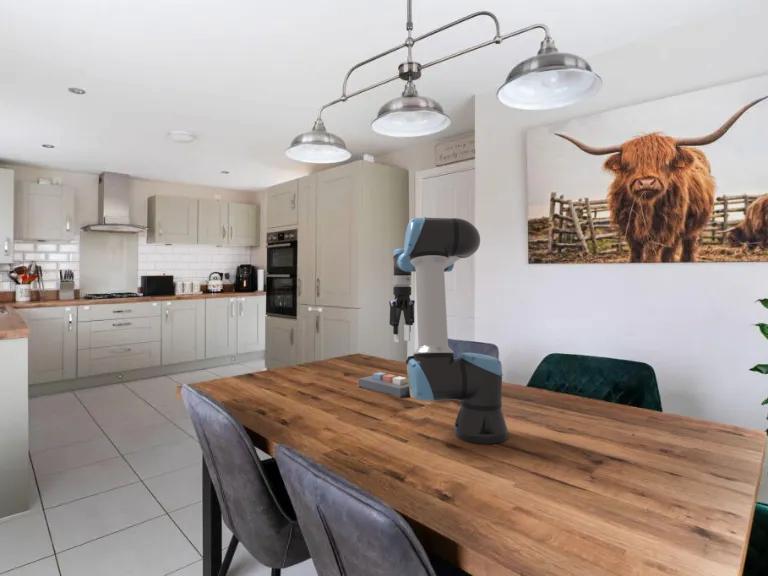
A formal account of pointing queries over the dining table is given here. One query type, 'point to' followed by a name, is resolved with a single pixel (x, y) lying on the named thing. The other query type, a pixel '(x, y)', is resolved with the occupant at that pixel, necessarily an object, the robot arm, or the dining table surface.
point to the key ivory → (399, 380)
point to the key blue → (379, 375)
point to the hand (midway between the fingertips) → (402, 341)
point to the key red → (388, 378)
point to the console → (384, 387)
